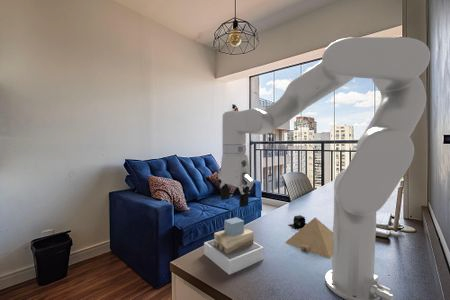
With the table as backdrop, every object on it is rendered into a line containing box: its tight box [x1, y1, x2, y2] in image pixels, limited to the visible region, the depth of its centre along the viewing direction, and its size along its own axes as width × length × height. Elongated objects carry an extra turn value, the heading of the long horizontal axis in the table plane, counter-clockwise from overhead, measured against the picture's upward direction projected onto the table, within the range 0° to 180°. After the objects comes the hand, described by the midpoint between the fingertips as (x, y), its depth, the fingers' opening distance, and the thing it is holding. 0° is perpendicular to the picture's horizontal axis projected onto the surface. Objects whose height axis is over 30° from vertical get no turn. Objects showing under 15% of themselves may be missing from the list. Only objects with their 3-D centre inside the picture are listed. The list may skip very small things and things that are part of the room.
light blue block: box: [223, 216, 245, 237], centre depth 72 cm, size 4×5×4 cm
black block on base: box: [287, 214, 307, 230], centre depth 99 cm, size 12×7×5 cm, turn 113°
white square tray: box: [203, 239, 265, 276], centre depth 73 cm, size 14×14×4 cm
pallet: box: [213, 226, 254, 254], centre depth 72 cm, size 7×11×4 cm, turn 126°
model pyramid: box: [284, 217, 333, 259], centre depth 83 cm, size 17×17×10 cm
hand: (233, 202), depth 72 cm, fingers open, 9 cm apart
